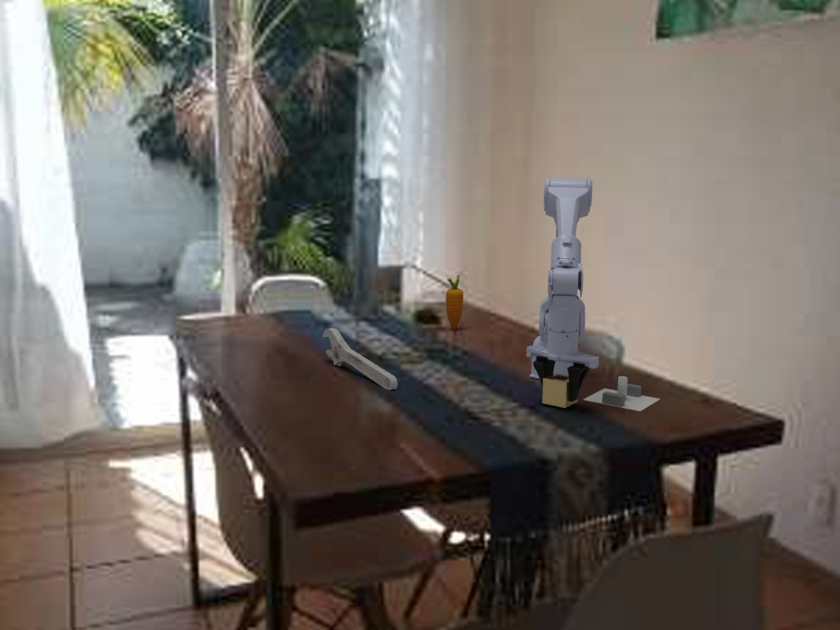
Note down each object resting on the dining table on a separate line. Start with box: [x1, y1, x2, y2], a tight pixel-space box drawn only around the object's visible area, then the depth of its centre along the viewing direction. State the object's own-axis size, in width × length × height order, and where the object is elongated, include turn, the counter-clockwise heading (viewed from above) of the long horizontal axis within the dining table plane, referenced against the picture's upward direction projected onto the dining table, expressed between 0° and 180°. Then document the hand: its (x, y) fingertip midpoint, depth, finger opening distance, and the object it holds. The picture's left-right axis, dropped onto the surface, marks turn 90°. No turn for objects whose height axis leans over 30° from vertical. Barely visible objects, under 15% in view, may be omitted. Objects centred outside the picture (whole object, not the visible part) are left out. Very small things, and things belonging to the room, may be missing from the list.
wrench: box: [322, 327, 398, 391], centre depth 198 cm, size 8×2×30 cm
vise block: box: [583, 375, 661, 412], centre depth 178 cm, size 12×10×6 cm
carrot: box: [445, 274, 464, 331], centre depth 242 cm, size 5×5×15 cm
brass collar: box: [541, 373, 579, 409], centre depth 174 cm, size 5×5×5 cm
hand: (560, 397), depth 174 cm, fingers closed on brass collar, 5 cm apart
